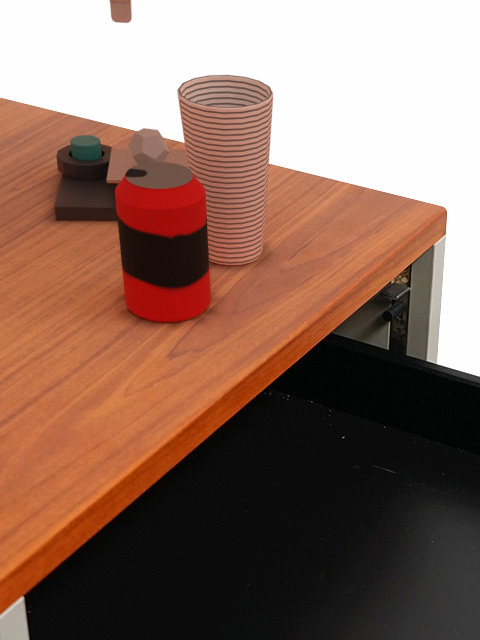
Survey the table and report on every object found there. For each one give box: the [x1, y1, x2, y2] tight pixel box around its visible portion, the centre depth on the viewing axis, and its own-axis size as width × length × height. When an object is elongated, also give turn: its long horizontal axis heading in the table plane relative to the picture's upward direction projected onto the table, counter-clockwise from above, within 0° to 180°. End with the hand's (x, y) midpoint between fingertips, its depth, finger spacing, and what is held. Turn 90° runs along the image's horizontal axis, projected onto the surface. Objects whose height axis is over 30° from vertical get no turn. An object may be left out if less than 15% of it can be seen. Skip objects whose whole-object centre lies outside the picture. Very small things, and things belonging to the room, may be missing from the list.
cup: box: [176, 74, 274, 266], centre depth 129 cm, size 8×8×16 cm
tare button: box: [69, 134, 102, 161], centre depth 142 cm, size 3×3×2 cm
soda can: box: [115, 162, 212, 323], centre depth 121 cm, size 8×8×12 cm
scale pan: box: [106, 147, 188, 183], centre depth 140 cm, size 8×8×1 cm
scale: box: [54, 143, 119, 222], centre depth 141 cm, size 14×12×3 cm
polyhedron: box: [127, 127, 169, 165], centre depth 139 cm, size 4×4×3 cm
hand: (124, 4), depth 130 cm, fingers open, 8 cm apart
